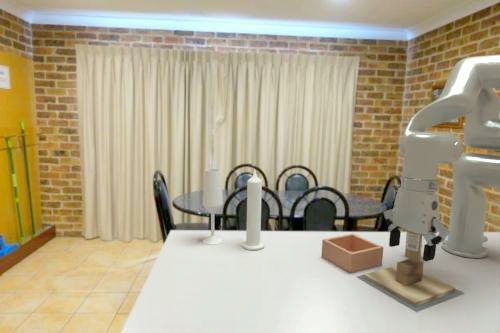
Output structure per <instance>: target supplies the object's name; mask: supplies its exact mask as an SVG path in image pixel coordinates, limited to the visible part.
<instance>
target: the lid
mask: <svg viewBox="0 0 500 333" xmlns="http://www.w3.org/2000/svg"><path fill="white" fill-rule="evenodd" d="M424 263H425V261H422V260H417V259H415V258H411V259H408V258H406V259H403V260H400V261H398V262H396V265H397V266H396V265H393V266H390V268H389V267H386V268H382V269H379V271H378V270H376V271H373V272H372V273H371V272H369V273H364V274H365V276H364V278H365V279H367V280H369V281H370V282H372V283H374V284H376V285H377V286H379V287H381V288H383V289H384V290H386V291H388V292H390V293H391V294H393V295H395V296H397V297H398V298H400V299H402V300H404V301H405V302H407V303H409V304H411V305H412V306H414V307H416V306H418V305H421V304H424V303H426V302H429V301H432V300H435V299H437V298H440V297H443V296H445V295H448V294H451V293H453V292H455V290H456V289H457V288H456V287H455V286H453V285H451V284H449V283H446V282H443V281H441V280H439V279H437V278H435V277H434V276H431V275H429V274H427V273H424Z"/></svg>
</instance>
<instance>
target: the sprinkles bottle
mask: <svg viewBox="0 0 500 333" xmlns="http://www.w3.org/2000/svg"><path fill="white" fill-rule="evenodd" d="M405 236H406V238H405V249H404V255H403V256H404V258H406V259H411V258H415V259H417V260H419V261H421V258H422V257H421V256H422V255H421V254H422V246H423V235H420V234H417V233H414V232H411V231H409V230H406V235H405Z"/></svg>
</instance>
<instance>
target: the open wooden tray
mask: <svg viewBox="0 0 500 333" xmlns="http://www.w3.org/2000/svg"><path fill="white" fill-rule="evenodd" d="M321 242H322V244H321V256H320V257H321V258H322V259H324V260H326V261H327V262H330V263H331V264H333V265H334V266H336V267H338V268H339V269H342V270H344V271H345V272H347V273H348V274H354V273H355V274H356V273H358V272H362V271H366V270H370V269H373V268H377V267H382V266H383V256H384V246H382V245H379V244H377V243H375V242H373V241H370V240H369V239H366V238H365V237H362V236H360V235H356V234H355V233H350V234H349V233H348V234H344V235H339V236H333V237H328V238H324V239H322V241H321Z"/></svg>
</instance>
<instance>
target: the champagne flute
mask: <svg viewBox="0 0 500 333" xmlns="http://www.w3.org/2000/svg"><path fill="white" fill-rule="evenodd" d="M221 174H222V173H221V169H219V168H209V169H208V168H207V169H205V173H204V184H203V194H202V206H203V207H204V208H205V210H206V211H207V212H209V213H210V235H209V236H207V237H205V238H204V239H202V243H203V244H206V245H213V246H214V245H220V244H221V243H222V242H223V241H224V240H223V239H222V238H220V237H219V236H217V235H216V234H215V214H216V213H217V212H218V211H220V209H221V208H222V207H223V205H224V198H223V186H222V185H223V184H222V175H221Z"/></svg>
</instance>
